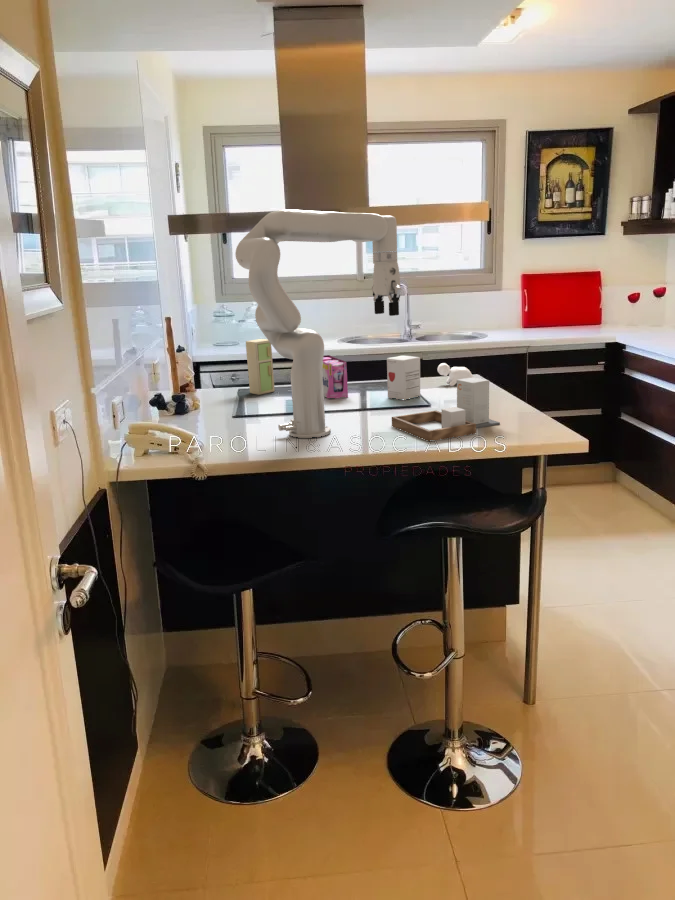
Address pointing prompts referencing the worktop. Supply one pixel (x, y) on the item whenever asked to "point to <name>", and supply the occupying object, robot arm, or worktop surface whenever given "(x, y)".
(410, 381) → the supplement box
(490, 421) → the slate mat
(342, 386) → the gum box
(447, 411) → the white block
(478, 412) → the small box
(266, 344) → the toy refrigerator
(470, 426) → the tray
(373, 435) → the worktop surface
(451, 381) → the white animal figurine
